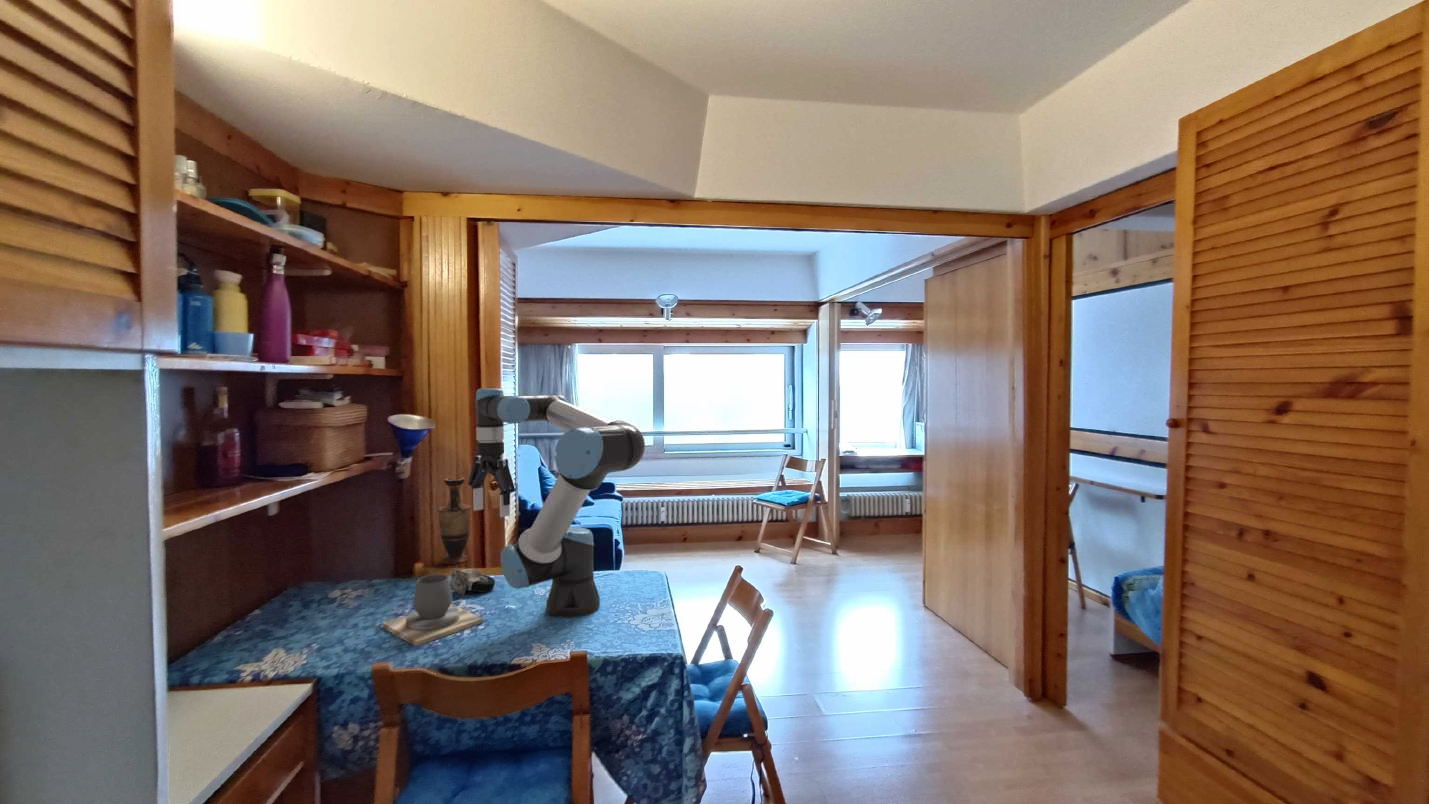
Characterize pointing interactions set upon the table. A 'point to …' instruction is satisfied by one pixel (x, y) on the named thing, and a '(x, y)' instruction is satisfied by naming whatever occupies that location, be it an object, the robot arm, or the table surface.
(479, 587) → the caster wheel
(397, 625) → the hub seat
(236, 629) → the table surface
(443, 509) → the vase
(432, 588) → the cup
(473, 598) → the table surface
